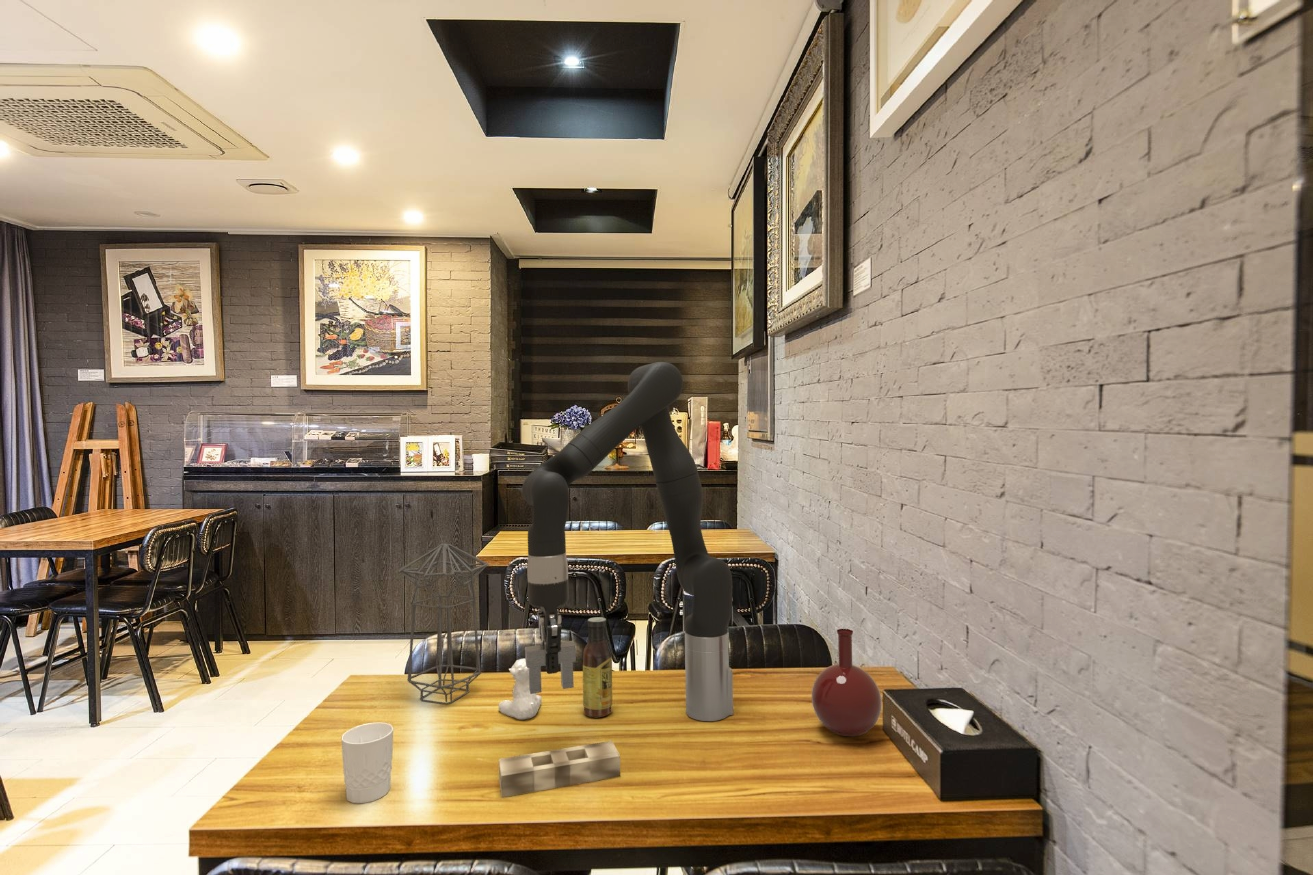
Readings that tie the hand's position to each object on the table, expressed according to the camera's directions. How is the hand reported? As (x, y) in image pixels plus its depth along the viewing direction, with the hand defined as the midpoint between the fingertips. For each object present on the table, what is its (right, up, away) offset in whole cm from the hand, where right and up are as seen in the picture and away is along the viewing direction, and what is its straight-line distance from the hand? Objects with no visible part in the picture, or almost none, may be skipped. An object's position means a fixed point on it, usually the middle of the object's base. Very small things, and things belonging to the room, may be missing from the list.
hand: (551, 668), depth 120 cm
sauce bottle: (+7, -16, +17) cm, 24 cm away
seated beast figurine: (-8, -16, +17) cm, 25 cm away
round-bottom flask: (+57, -15, +5) cm, 59 cm away
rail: (+3, -15, -10) cm, 18 cm away
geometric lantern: (-29, -16, +28) cm, 44 cm away
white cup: (-28, -16, -13) cm, 35 cm away
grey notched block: (0, -4, 0) cm, 4 cm away
